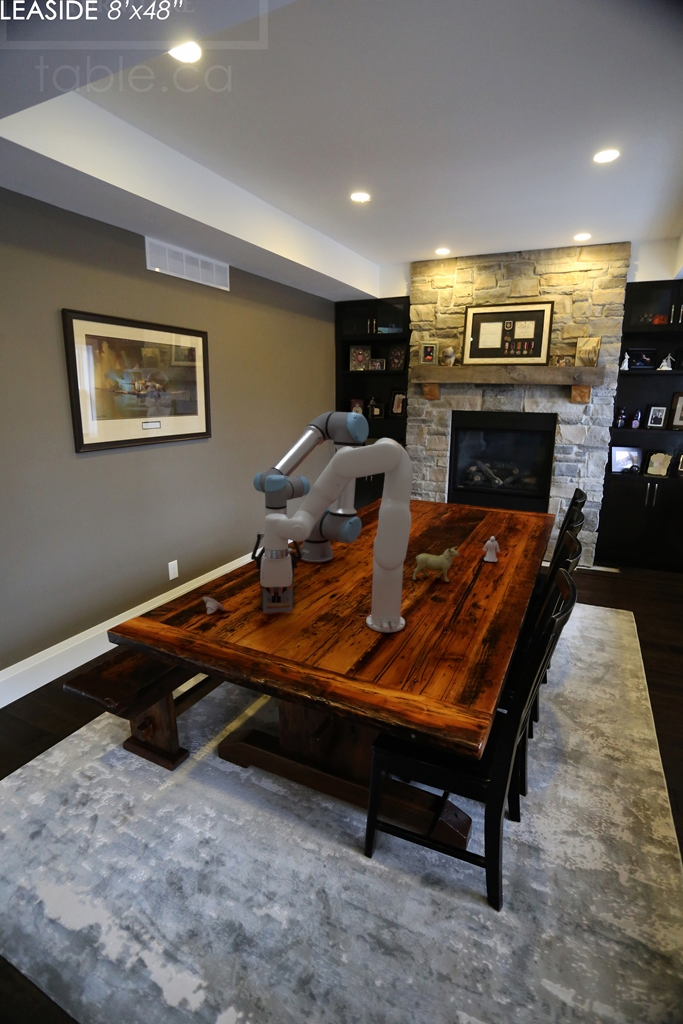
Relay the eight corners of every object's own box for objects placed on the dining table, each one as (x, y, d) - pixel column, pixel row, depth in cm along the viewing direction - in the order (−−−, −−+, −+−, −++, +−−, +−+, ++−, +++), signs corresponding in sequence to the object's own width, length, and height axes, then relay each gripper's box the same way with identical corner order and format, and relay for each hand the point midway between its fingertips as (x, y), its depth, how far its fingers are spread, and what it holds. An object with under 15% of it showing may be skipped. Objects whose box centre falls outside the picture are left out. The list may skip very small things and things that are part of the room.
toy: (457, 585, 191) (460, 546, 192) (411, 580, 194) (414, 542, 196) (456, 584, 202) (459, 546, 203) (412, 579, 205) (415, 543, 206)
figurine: (481, 562, 222) (483, 536, 219) (482, 556, 230) (484, 531, 227) (499, 564, 220) (501, 538, 217) (499, 558, 228) (501, 533, 225)
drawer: (293, 619, 162) (293, 592, 160) (263, 621, 161) (262, 593, 159) (290, 593, 183) (290, 568, 180) (263, 594, 181) (263, 569, 179)
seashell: (209, 622, 169) (193, 604, 168) (220, 611, 173) (205, 594, 172) (217, 618, 163) (201, 599, 162) (228, 607, 167) (213, 589, 166)
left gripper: (308, 515, 183) (308, 572, 188) (243, 516, 179) (245, 574, 185) (309, 521, 176) (309, 579, 181) (242, 522, 172) (244, 581, 178)
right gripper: (299, 548, 164) (298, 600, 168) (253, 548, 162) (253, 601, 167) (300, 556, 157) (299, 610, 161) (252, 556, 155) (252, 611, 159)
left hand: (277, 576), depth 183 cm, fingers closed on cabinet, 11 cm apart
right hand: (276, 605), depth 164 cm, fingers closed
